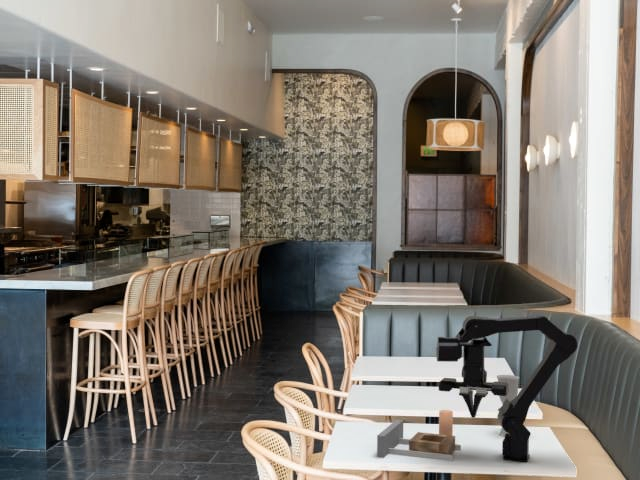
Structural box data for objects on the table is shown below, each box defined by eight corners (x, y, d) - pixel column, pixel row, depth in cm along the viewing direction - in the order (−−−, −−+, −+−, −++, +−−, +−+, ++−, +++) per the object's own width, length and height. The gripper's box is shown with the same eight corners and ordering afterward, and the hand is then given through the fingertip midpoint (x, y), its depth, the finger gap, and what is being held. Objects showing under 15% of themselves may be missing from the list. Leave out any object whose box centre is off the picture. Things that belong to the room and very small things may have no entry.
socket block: (455, 449, 232) (455, 436, 232) (447, 459, 223) (447, 444, 223) (417, 445, 236) (417, 432, 236) (408, 454, 227) (409, 440, 227)
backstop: (463, 446, 237) (463, 425, 236) (449, 465, 218) (449, 443, 218) (396, 439, 244) (396, 419, 244) (377, 456, 225) (377, 435, 225)
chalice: (523, 436, 248) (524, 378, 247) (504, 438, 245) (505, 379, 245) (509, 430, 254) (510, 374, 254) (491, 432, 252) (491, 375, 251)
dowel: (453, 440, 243) (454, 410, 242) (450, 444, 239) (451, 413, 239) (440, 439, 244) (440, 409, 244) (437, 442, 240) (437, 412, 240)
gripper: (511, 359, 229) (511, 413, 229) (446, 355, 236) (446, 408, 236) (506, 365, 219) (505, 423, 219) (438, 361, 225) (438, 416, 226)
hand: (473, 417), depth 225 cm, fingers closed
